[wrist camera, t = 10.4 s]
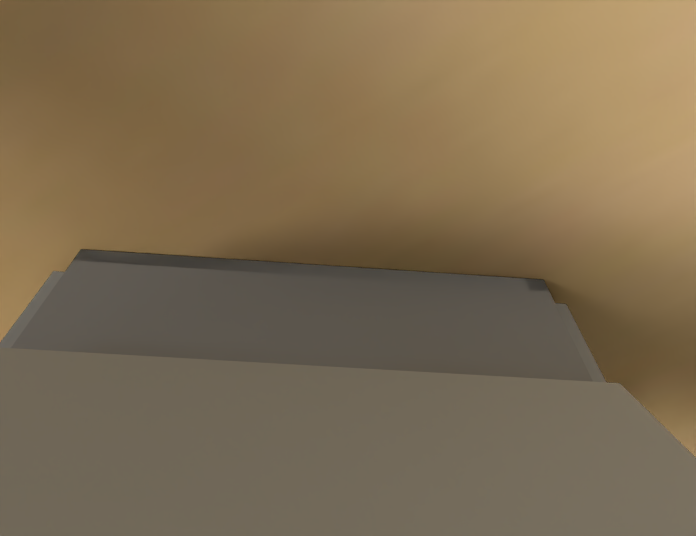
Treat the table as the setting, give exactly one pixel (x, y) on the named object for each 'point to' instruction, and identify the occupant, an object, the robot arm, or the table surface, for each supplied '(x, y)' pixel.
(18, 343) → the carton
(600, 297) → the table surface
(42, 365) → the flap
